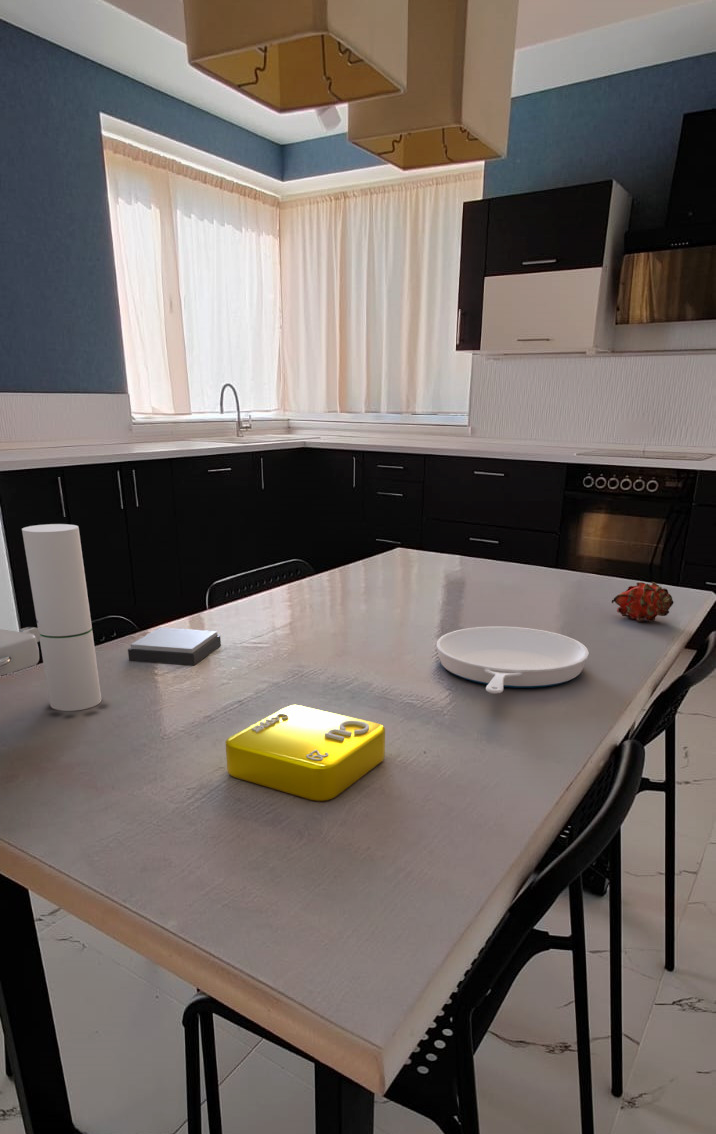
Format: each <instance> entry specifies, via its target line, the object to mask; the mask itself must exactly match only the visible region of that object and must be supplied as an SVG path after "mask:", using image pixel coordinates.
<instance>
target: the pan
mask: <svg viewBox="0 0 716 1134" xmlns="http://www.w3.org/2000/svg"><path fill="white" fill-rule="evenodd" d="M435 646H436V648H437V655H438V659H439V661H440V664H441V666H442V667H443V668H444V669H446V670H447V671H448V672H450V673H451V674H453V675H454V676H457V677H459V678H462V679H464V680H468V681H471V682H474V683H477V684H482V685H486V687H485V691H486V692H487V693H489V694H501V693H503V691H504V688H515V689H516V688H517V689H518V688H519V689H521V688H523V689H524V688H525V689H530V688H531V689H532V688H544V687H550V686H556V685H560V684H563V683H566V682H568V681H572V680H573V679H575V678H576V677H578V676H579V675H580V674H581V673H582V671H583V669H584V667H585V664H586V661H587V660H588V657H589V655H590V654H589V649H588V648H587V647H586V646H585V645H584V643H582V642H580V641H578V640H577V639H574V638H572V637H569V636H567V635H563V634H560V633H557V632H553V631H548V630H542V629H536V628H529V627H519V626H502V625H501V626H500V625H499V626H497V625H496V626H495V625H494V626H492V625H491V626H476V627H467V628H462V629H457V630H454V631H450V632H447V633H445V634H443V635H441V636H440V637H439V638H438V639H437V640H436V644H435Z"/></svg>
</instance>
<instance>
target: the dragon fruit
mask: <svg viewBox="0 0 716 1134" xmlns="http://www.w3.org/2000/svg"><path fill="white" fill-rule="evenodd" d="M650 583H651V584H649V583H645V582H641V581H640V582H639V581H637V582H636V585H629V586H628V588H627V589H626V590H625V591H621V592H620V593H618V594H617V595H615V597H613V599H612V600H611V604H614V603H615V604H616V605H617V606H619V607H617V608H616V612H617V613H618V614H620V615H621V616H622V617H625V618H629V619H631V620H634V619H636V622H637V623H638V622H641V621H645V620H646V621H647V622H654V621H655V620H656V617H658V616H659V617H666V616H667V615H669V614H670V609H671V607H673V605H674V603H675V602H674V600H673V596H672V595H671V594H670V593H669V590H668V589H667V588H665V587H663V588H662V586H661V585H659V584H657V582H654V581H651V582H650Z"/></svg>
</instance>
